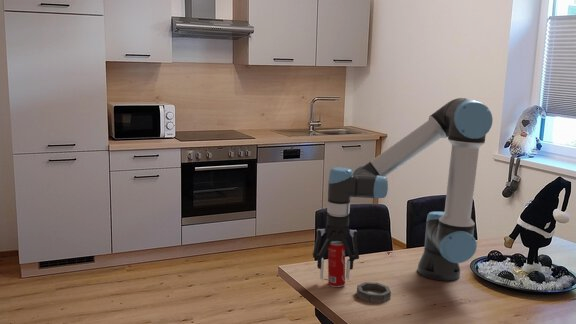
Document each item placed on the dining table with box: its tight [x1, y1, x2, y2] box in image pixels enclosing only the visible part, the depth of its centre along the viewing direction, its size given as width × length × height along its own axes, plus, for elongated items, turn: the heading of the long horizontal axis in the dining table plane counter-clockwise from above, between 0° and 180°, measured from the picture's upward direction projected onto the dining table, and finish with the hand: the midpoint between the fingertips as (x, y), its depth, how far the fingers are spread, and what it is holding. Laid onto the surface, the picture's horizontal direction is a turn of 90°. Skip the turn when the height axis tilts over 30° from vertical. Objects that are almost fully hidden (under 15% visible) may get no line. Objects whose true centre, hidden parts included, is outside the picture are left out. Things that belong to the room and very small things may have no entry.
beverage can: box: [327, 241, 346, 288], centre depth 191 cm, size 6×6×15 cm
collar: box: [356, 281, 392, 304], centre depth 184 cm, size 10×10×2 cm
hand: (334, 277), depth 192 cm, fingers open, 8 cm apart
